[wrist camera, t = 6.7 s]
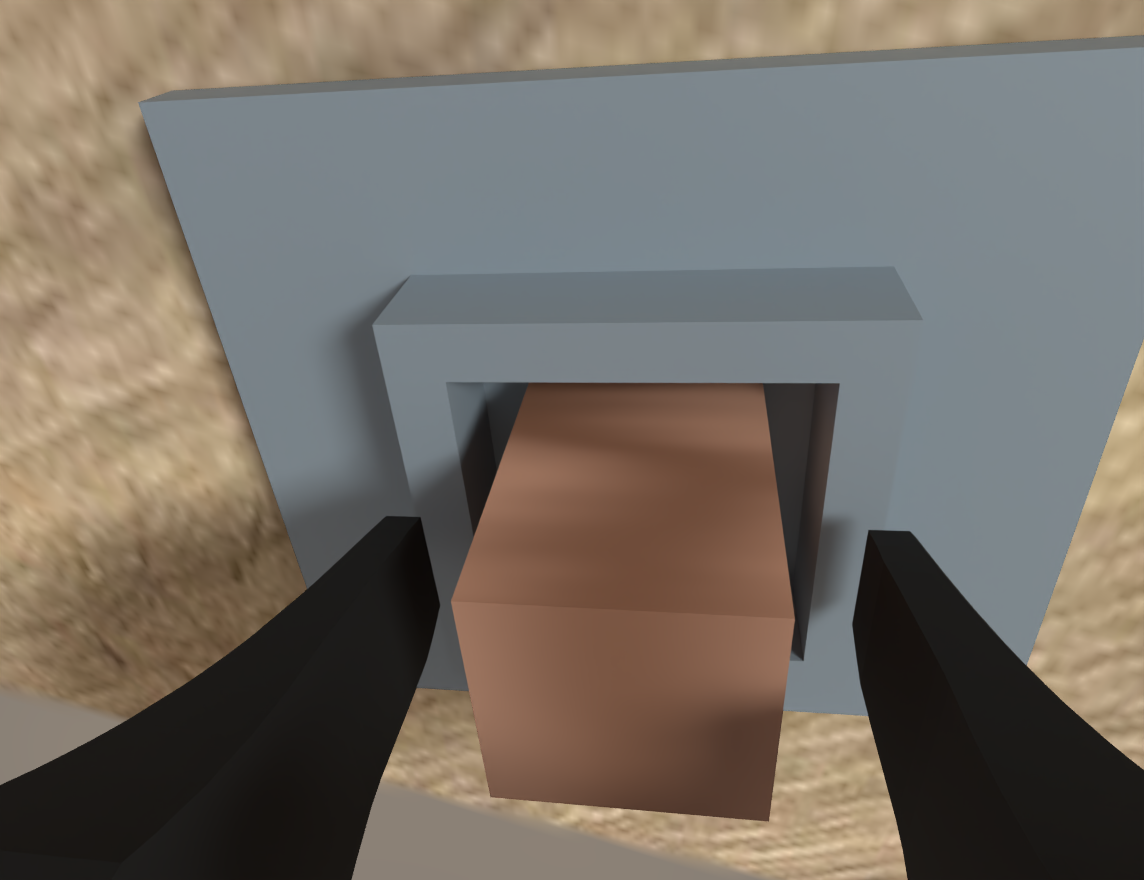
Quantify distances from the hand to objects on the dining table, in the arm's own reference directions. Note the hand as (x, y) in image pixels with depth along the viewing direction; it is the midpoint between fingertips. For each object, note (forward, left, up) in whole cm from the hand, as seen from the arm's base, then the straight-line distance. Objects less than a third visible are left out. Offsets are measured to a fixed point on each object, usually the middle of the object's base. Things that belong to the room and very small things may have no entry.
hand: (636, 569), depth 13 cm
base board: (0, 0, -4) cm, 4 cm away
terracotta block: (0, 0, -3) cm, 3 cm away
